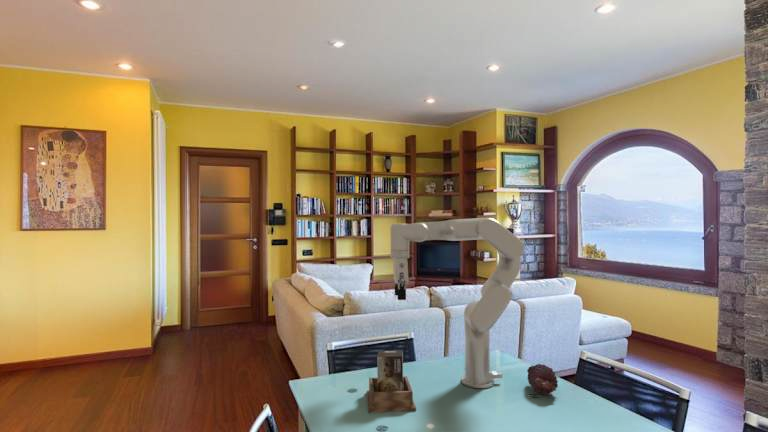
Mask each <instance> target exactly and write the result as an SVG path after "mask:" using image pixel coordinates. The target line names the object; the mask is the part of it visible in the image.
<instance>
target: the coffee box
mask: <svg viewBox="0 0 768 432" xmlns="http://www.w3.org/2000/svg"><path fill="white" fill-rule="evenodd" d="M403 355H404V352H403V350H378V351H377V355H376V360H377V361H376V362H377V363H376V367H377V369H376V370H377V373H376V375H377V378H378V392H391V391H403V377H404V356H403Z"/></svg>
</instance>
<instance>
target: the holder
mask: <svg viewBox="0 0 768 432" xmlns="http://www.w3.org/2000/svg"><path fill="white" fill-rule="evenodd" d="M365 395H366V402H367V403H366V404H367V412H368V414H374V413H375V414H376V413H398V412H400V413H402V412H416V411H417V407H416V405H415V404H416V403H415V401H414V399H413V398H414V397H413V395H414V392H413V389H412V387H411V384H410V381H409V378H408V376H403V391H391V392H378V377H368V390H367V389H366V394H365Z"/></svg>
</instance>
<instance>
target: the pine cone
mask: <svg viewBox="0 0 768 432" xmlns="http://www.w3.org/2000/svg"><path fill="white" fill-rule="evenodd" d="M527 373H528V374H527V382H528V384H529V385H530V388H531V389H532V390H533V391H534V392H536V393H537V394H542V395H545V396H548V395H550V394H552V393H553V392H554V391H555V392H556V391H557V388H558V385H559V384H558V379H557V378H558V377H557V376H556V373H555V371H554V370H553V368H552V367H549V366H547V365H545V364H541V363H538V364H535V365H531V366H529V367H528V369H527Z"/></svg>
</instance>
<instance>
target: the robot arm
mask: <svg viewBox="0 0 768 432" xmlns="http://www.w3.org/2000/svg"><path fill="white" fill-rule="evenodd" d="M433 240H434V241H435V240H437V241H440V240H441V241H442V240H443V241H451V242H454V241H455V242H457V241H473V240H474V241H476V240H479V241H480V240H485V242H487V243H488V244H489V245H490V246H492V247H493V248H494V249H495V250H496V252H497V254H498V263H497V265H496V267H495V268H494V270H493V271H492V273H491V274H490V276H488V279H487V280H486V281H485V283H484V284H483V285H482V287H481V290H480V294H481V297H480V299H479V300H478V301H477V300H474V301H471V302H469V303H468V304H466V306H465V308H464V311H463V320H464V321H463V323H464V375H462V376H461V380H460V381H461V382H460V383H462V384H463V385H465V386H467V387H468V388H474V389H488V388H491V387H493V386H494V385H495V379H503V373H502V372H497V371H496V370H495V371H491V367H490V366H491V365H490V364H491V363H490V362H491V359H490V357H491V355H490V353H491V352H490V350H491V349H490V348H491V347H490V346H491V345H490V343H491V338H490V337H491V336H490V330H491V329H492V328H493V327H494V326H495V324H496V323H497V322H498V321H499V319H500V317H501V316H502V315H503V313H504V312H505V310H506V309H507V308H508V306H509V304H510V302H511V299H512V298H511V297H512V296H511V295H512V293H511V290H510V289H511V288H510V287H511V286H512V285H513V283H514V282H515V280H516V279H517V276H518V275H519V274H520V270H521V266H522V265H521V264H522V263H521V257H522V256H523V255H524V253H525V245H524V243H523V241H522V240H521V239H520V238H519V237H518V236H516V234H514V233H512V232H511V231H510V230H509V229H507V228H506V227H505V226H504V225H502V223H501V222H499V221H498V220H496V219H495V218H492V217H477V218H476V217H474V218H472V217H471V218H457V219H455V218H454V219H448V220H441V221H440V220H439V221H426V222H425V221H424V222H423V221H422V222H415V223H405V222H403V223H402V222H401V223H399V222H398V223H396V222H395V223H392V224H391V225H390V259H393V262H392V263H393V268H392V269H393V281H394V295H395V296H397V300H398V301H406V300H407V289H406V285H407V284H409V264H408V259H410V242H416V243H421V242H422V243H423V242H425V241H433Z"/></svg>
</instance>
